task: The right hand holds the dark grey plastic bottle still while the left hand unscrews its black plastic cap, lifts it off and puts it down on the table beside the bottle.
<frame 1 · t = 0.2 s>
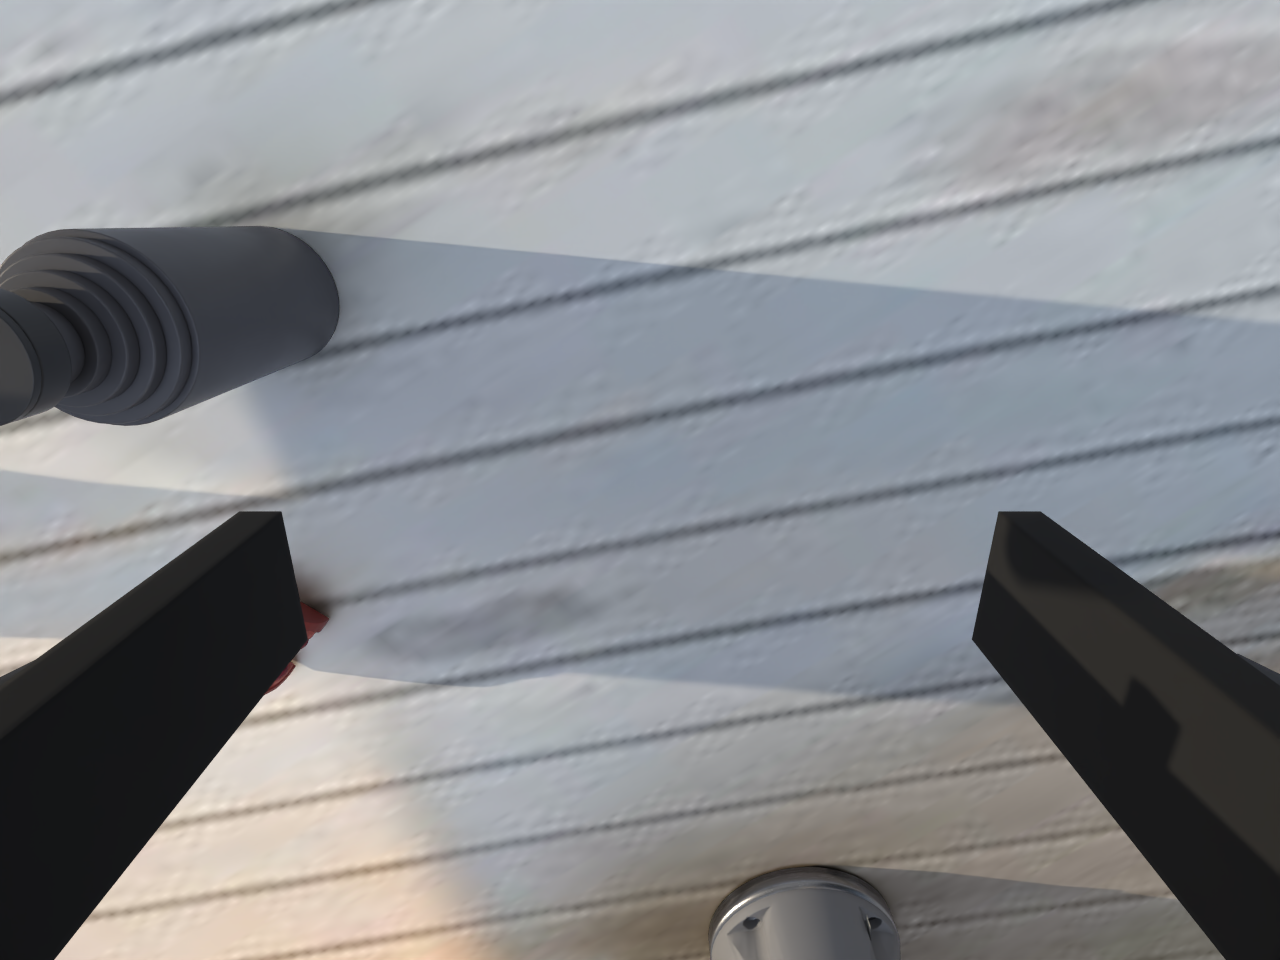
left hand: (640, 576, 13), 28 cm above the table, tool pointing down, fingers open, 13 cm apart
dental model: (275, 622, 46), on the table
bottle: (272, 296, 38), on the table
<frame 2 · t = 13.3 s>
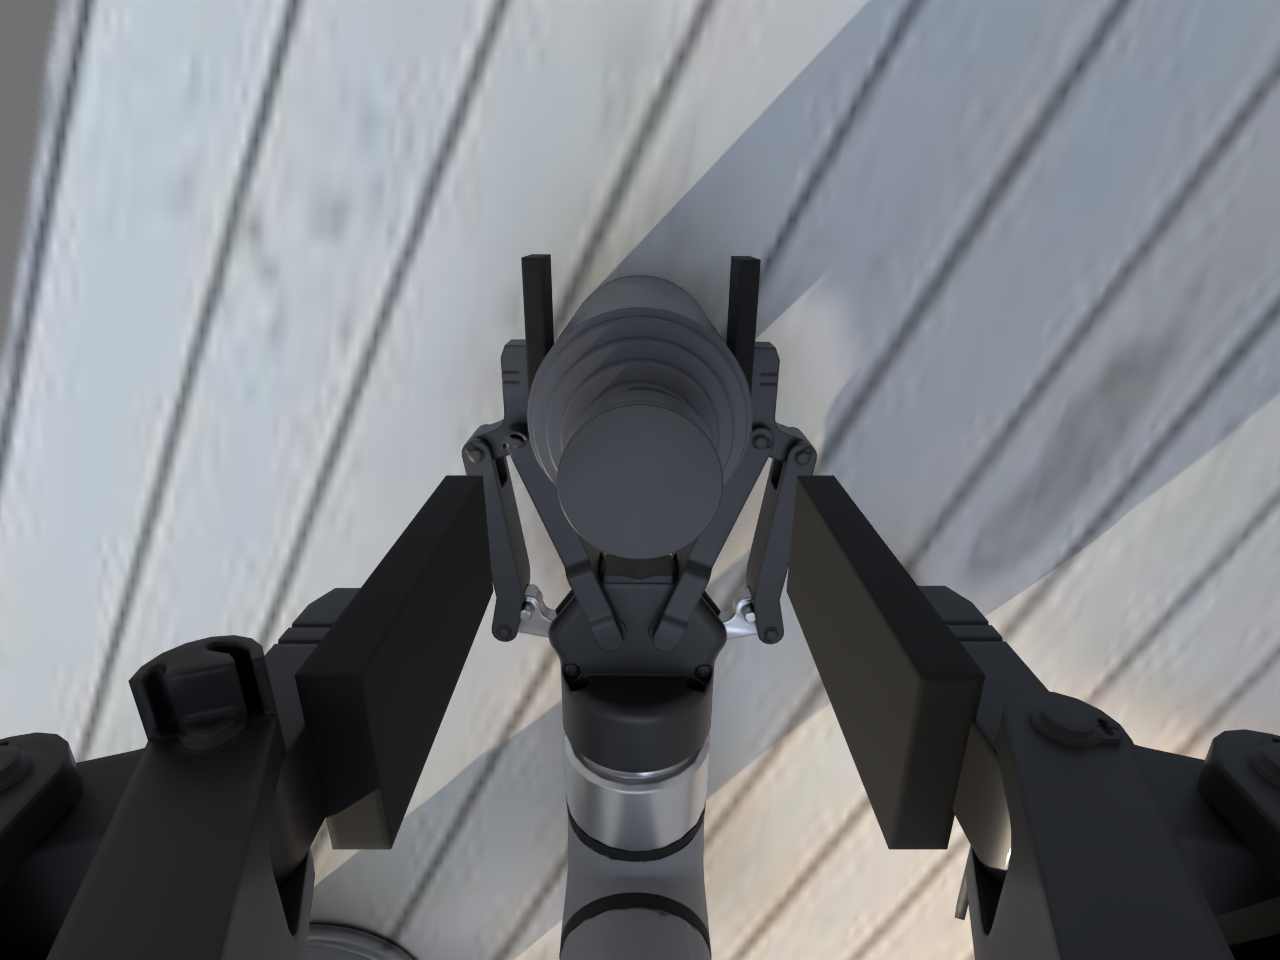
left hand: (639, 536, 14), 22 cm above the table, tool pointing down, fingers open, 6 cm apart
right hand: (640, 257, 26), fingers closed on bottle, 7 cm apart
cap: (640, 481, 17), point 18 cm above the table, screwed on, not yet turned
bottle: (639, 351, 34), on the table, touching right hand
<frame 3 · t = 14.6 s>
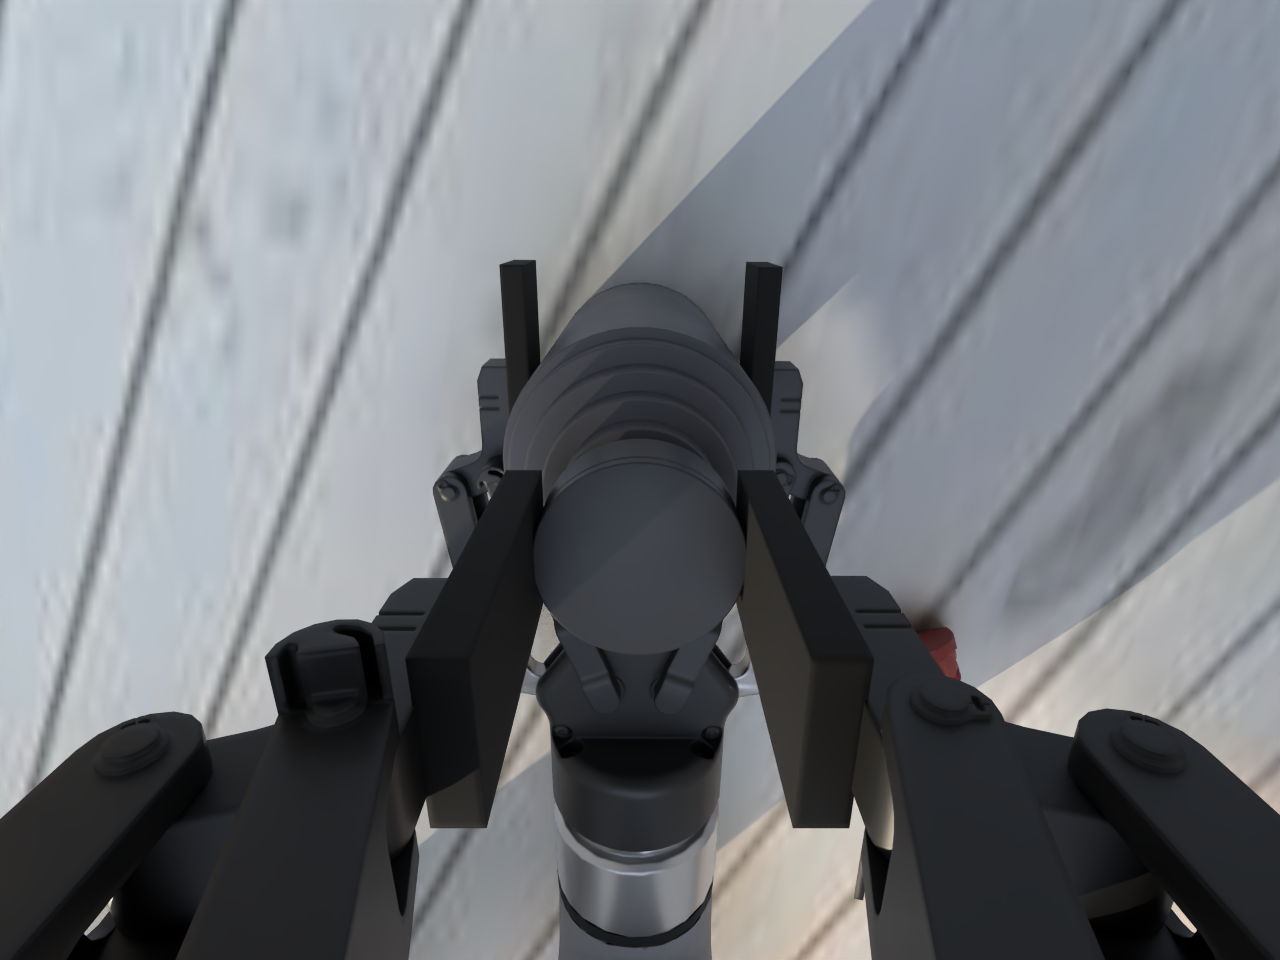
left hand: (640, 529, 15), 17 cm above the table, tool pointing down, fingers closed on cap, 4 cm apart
right hand: (640, 264, 23), fingers closed on bottle, 7 cm apart
dental model: (896, 676, 36), on the table
cap: (639, 557, 13), point 18 cm above the table, screwed on, not yet turned, touching left hand
bottle: (639, 368, 30), on the table, touching right hand
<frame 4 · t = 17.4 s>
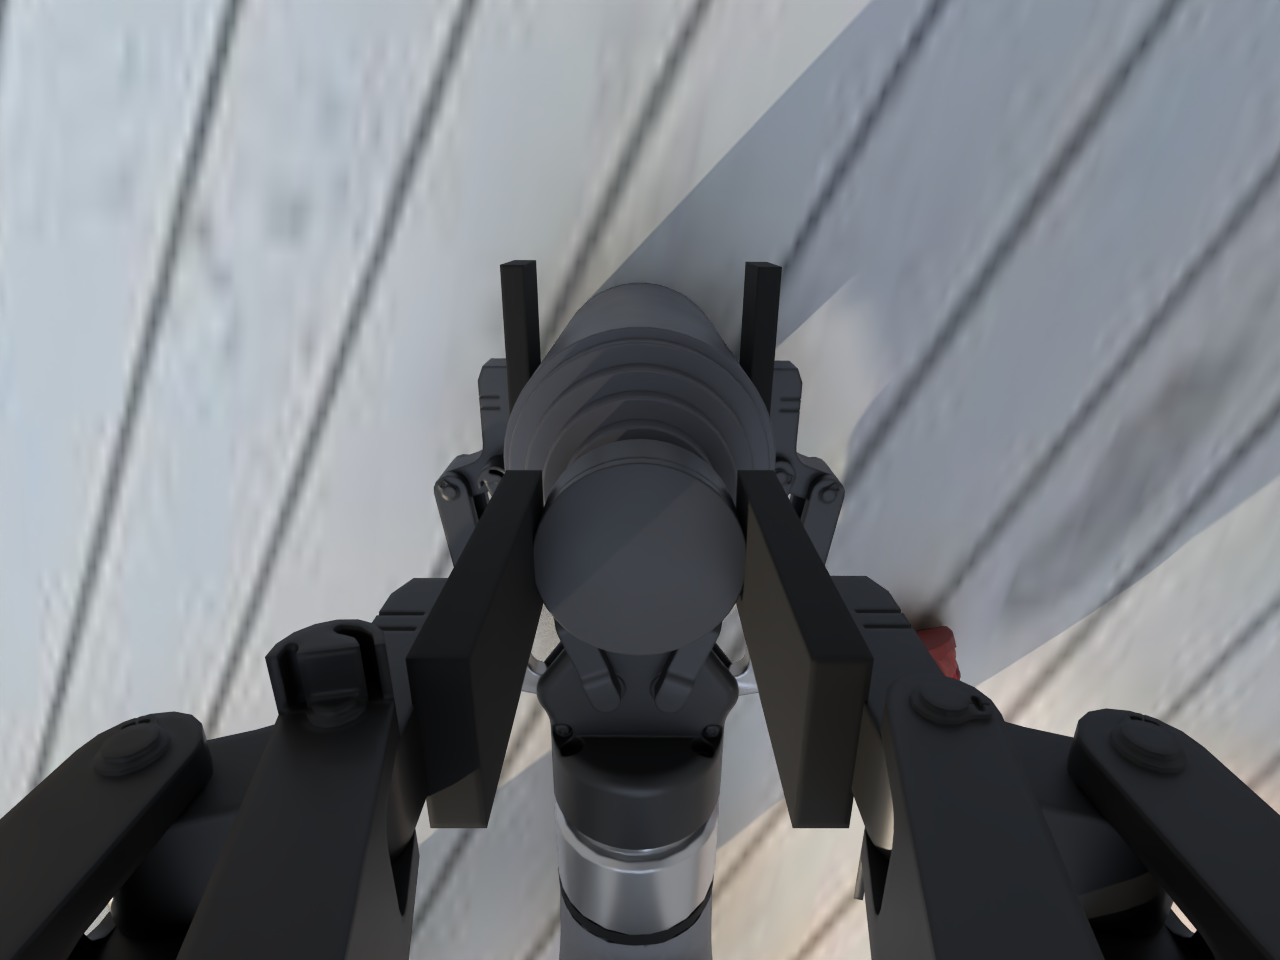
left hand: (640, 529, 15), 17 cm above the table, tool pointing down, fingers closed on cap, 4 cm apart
right hand: (640, 264, 23), fingers closed on bottle, 7 cm apart
dental model: (895, 675, 37), on the table
cap: (639, 557, 13), point 18 cm above the table, turned 84° so far, risen 0.1 cm, still on its thread, touching left hand
bottle: (639, 367, 31), on the table, touching right hand
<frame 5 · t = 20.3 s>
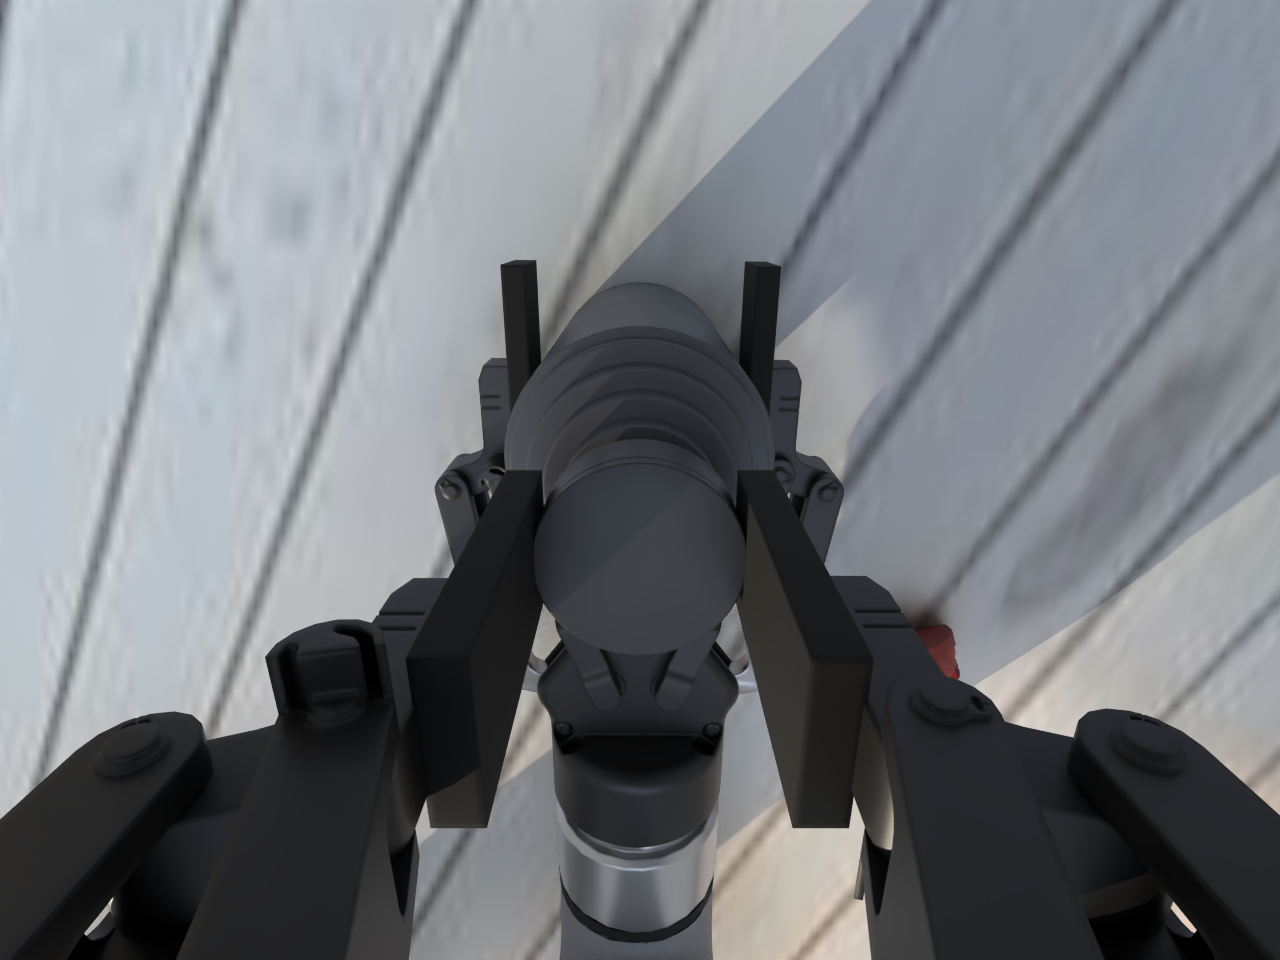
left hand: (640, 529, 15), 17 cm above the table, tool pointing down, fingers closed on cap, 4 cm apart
right hand: (640, 264, 23), fingers closed on bottle, 7 cm apart
dental model: (895, 673, 37), on the table
cap: (639, 557, 13), point 19 cm above the table, turned 169° so far, risen 0.2 cm, still on its thread, touching left hand
bottle: (639, 367, 31), on the table, touching right hand
when the left hand's fingers open (2 cm above the table, at t = 36.8 s): cap drops 2 cm, point 1 cm above the table.
when the right hand's fingers open (7 cm above the table, at t = 38.1 s): bottle stays where it is, on the table.
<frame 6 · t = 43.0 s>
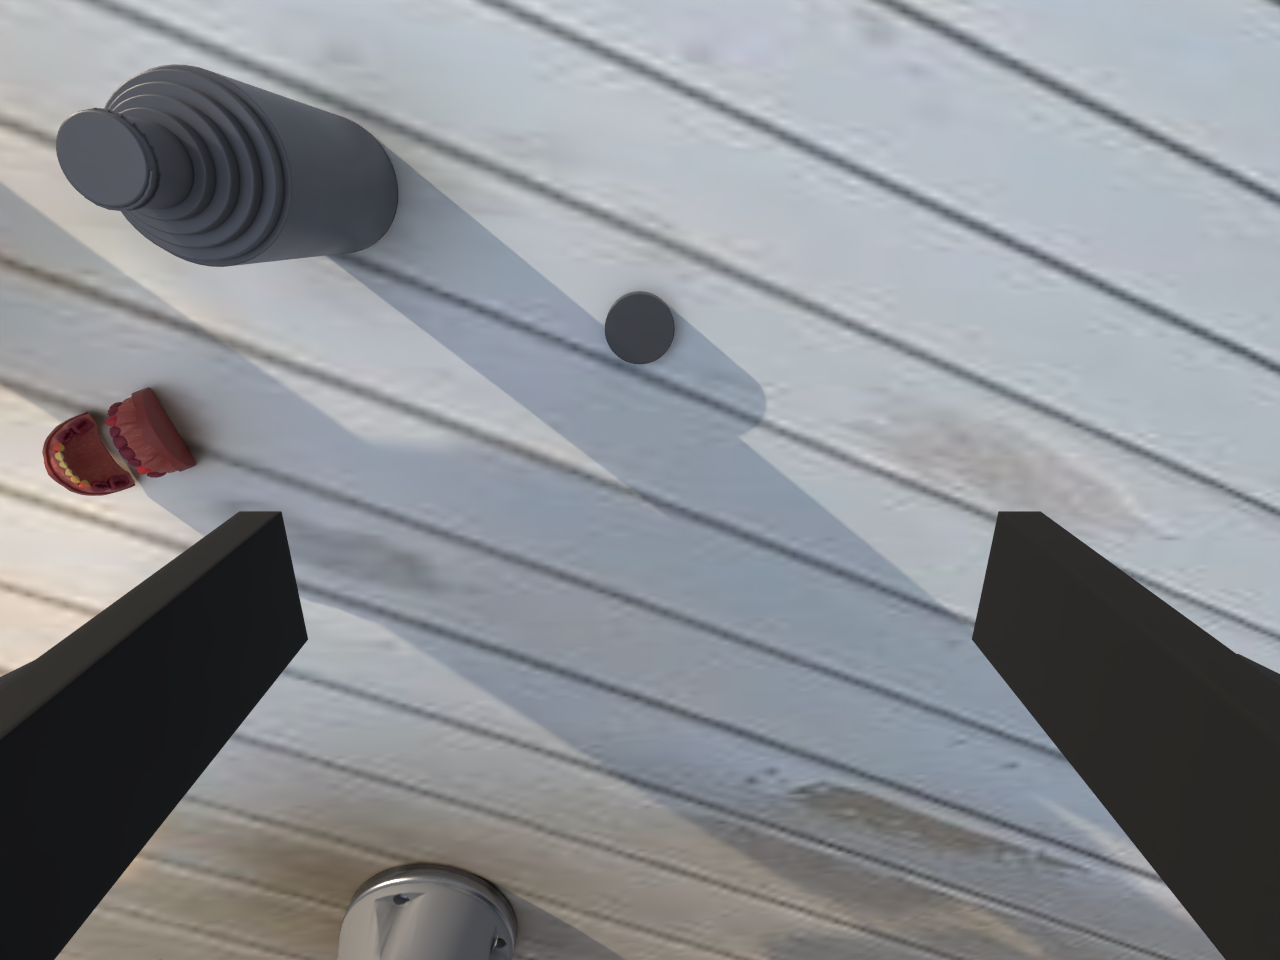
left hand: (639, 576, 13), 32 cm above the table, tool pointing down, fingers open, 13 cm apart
dental model: (140, 438, 45), on the table
cap: (639, 328, 41), point 1 cm above the table, off its thread
bottle: (334, 185, 39), on the table
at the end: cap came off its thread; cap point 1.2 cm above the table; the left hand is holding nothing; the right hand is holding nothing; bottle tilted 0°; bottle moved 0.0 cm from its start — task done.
